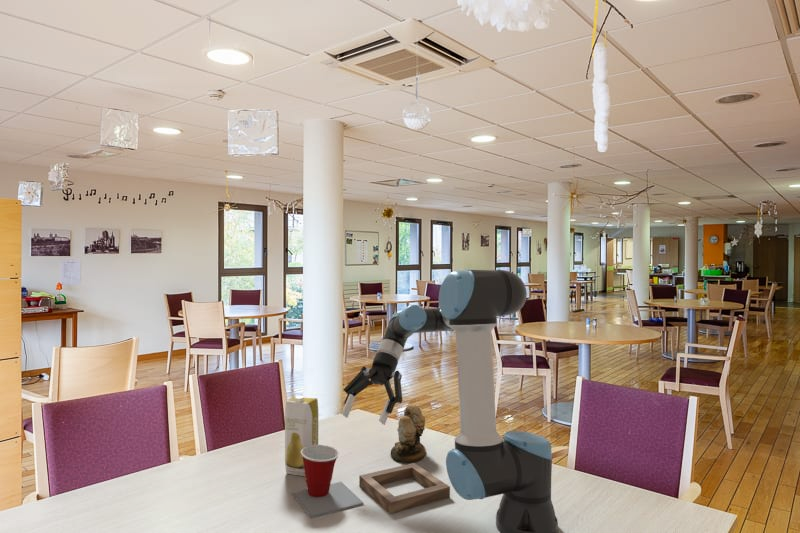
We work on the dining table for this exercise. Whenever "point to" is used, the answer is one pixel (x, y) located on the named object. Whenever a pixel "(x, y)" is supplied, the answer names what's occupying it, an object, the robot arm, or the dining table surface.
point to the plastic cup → (319, 468)
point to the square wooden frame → (408, 500)
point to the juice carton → (299, 431)
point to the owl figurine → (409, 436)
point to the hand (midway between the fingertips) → (362, 419)
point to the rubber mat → (328, 500)
